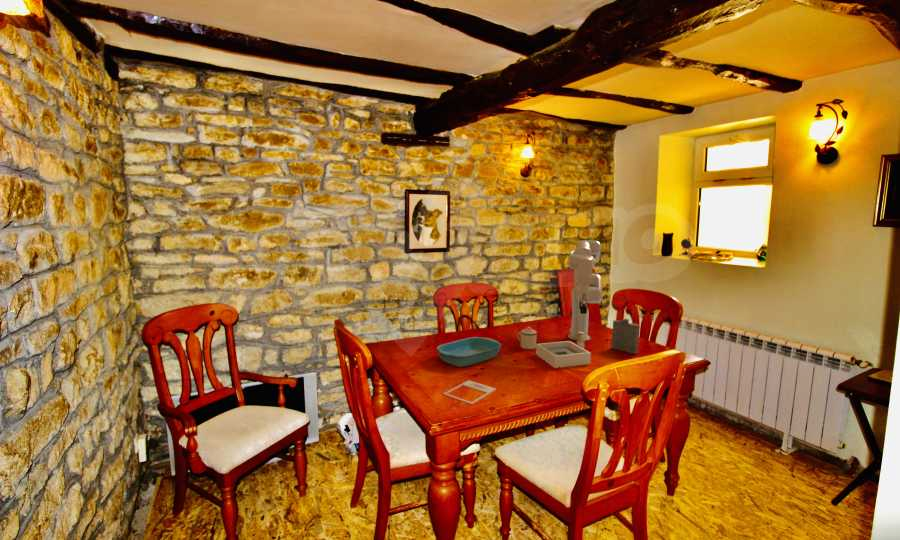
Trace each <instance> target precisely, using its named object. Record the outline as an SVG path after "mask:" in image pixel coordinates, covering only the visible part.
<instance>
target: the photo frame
mask: <svg viewBox="0 0 900 540" xmlns="http://www.w3.org/2000/svg"><path fill="white" fill-rule="evenodd" d="M462 386H463V387H466V388H470V389H473V390H476V391H479V392H481V393H482V392H483V393H484V394H483V395H481V396H479V397H478V398H476V399H474V400H473V401H469V400H467V399H463V398H460V397H458V396H455V395H451V394H449V393H451V392H453V391H455V390H457V389H459V388H461V387H462ZM496 390H497V388H495V387H492V386H489V385H486V384H482V383H479V382H475V381H473V380H469V379H468V380H467V381H464V382H463V383H461V384H459V385H457V386H455V387H453V388H450V389H449V390H448V391H446V392H444V393H443V396H447V397H449V398H452V399H455V400H458V401H460V402H463V403H466V404H470V405H473V404H475V403H476V402H478V401H480V400H482V399H484V398H485V397H486V396H489V395H490V394H491V393H493V392H495V391H496Z"/></svg>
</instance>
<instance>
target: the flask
mask: <svg viewBox="0 0 900 540" xmlns="http://www.w3.org/2000/svg"><path fill="white" fill-rule="evenodd" d="M629 321H630V319H628V318H622V320H617V319H615V320H612V336H611V349H613V348H614V350H616V349H618V350H617V351H619V350H622V351H621V352H623V351H626V352H625V353H627V352H629V354H632V353H633V355H634V354H635V355H638V351H639V350H638V349H639V338H640V337H639V336H640V324H636V323H629Z"/></svg>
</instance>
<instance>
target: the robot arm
mask: <svg viewBox="0 0 900 540" xmlns="http://www.w3.org/2000/svg"><path fill="white" fill-rule="evenodd" d="M601 251H602V246H601V242H600V241H598V240H594V239H593V240H592V239H591V240H588V239H585V240H583V239H582V240H579V241H578V242H576V244H575V248H572V249H571V250H570V252H569V254H568V261H567V262H568V267H569V268H570V269H572V270H573V284H574V287H573V288H572V289H571V302H572V304H571V305H572V308H571V312H572V313H571V328H569V331H570V333H569V334H568V339H570V340H573V341H577V332H584V333H585V342H586V341H590V340H591V336H590V335H589V333H588V331H589V316H590V315H589V313H590V311H589V308H588V305H587V304H600V303H601V302H602V300H603V282H602V277H601V275H600V274H598V273H593V269H594V267H595V266H596V262H598V261H599V259H600V256H601Z"/></svg>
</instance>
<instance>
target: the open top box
mask: <svg viewBox="0 0 900 540" xmlns="http://www.w3.org/2000/svg"><path fill="white" fill-rule="evenodd" d="M535 355H536V356H537V355H538V356H537V357H538V358H540V359H541V358H542V360H543V361H544V360H545V361H544V362H546V363H547V364H548V363H549V364H548V365H549V366H551V367H552V368H554V369H558V368H559V367H560V368H570V367H577V366H578V365H579V366H585V365H586V366H587V365H591V357H592V356H591V355H592V352H590V351H588V350H586V349H585V348H584V349H583V348H581V347H580V346H578V345H577V343H574V342H573V341H570V340H565V341H555V342H554V341H553V342H552V341H551V342H543V343H541V342H540V343H536V348H535Z"/></svg>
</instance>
